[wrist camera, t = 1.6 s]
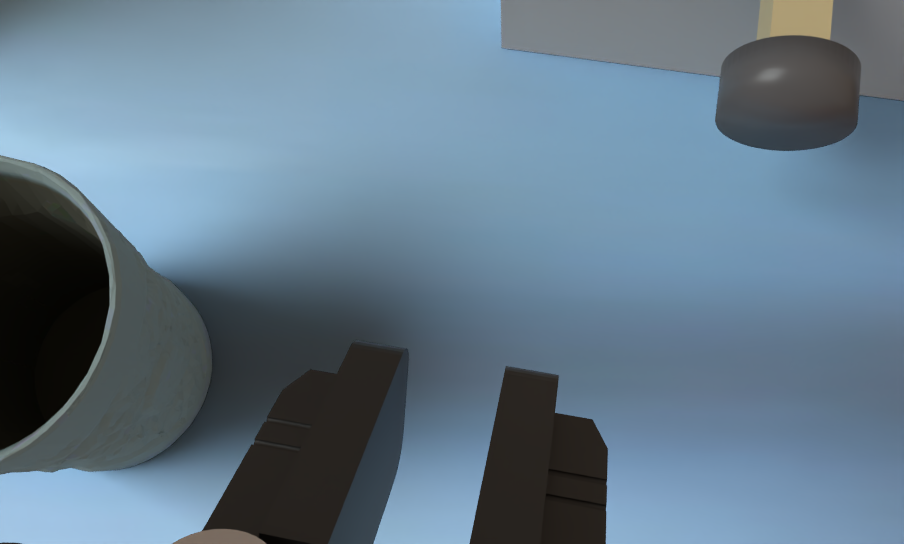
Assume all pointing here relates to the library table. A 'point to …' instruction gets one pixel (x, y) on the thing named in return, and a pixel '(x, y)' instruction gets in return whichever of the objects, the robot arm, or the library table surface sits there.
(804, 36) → the knob
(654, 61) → the console
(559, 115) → the library table surface
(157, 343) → the grey green cup
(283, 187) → the library table surface
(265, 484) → the robot arm
